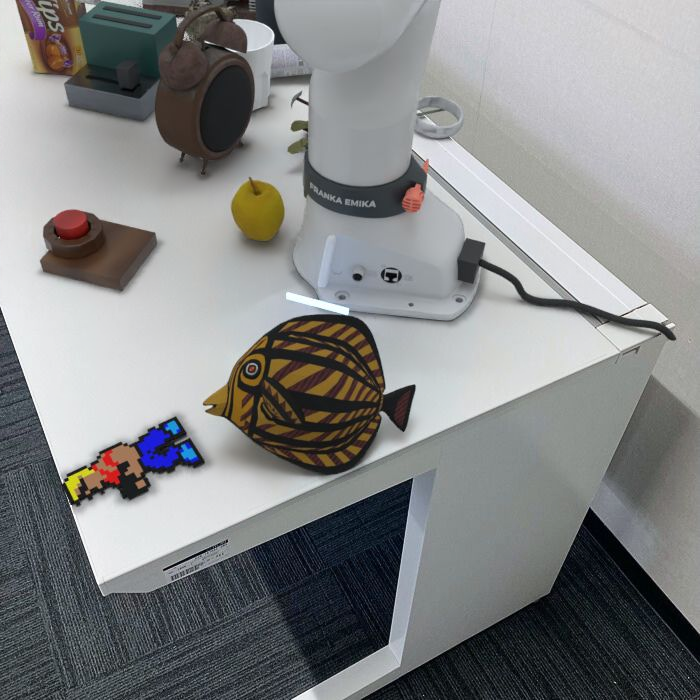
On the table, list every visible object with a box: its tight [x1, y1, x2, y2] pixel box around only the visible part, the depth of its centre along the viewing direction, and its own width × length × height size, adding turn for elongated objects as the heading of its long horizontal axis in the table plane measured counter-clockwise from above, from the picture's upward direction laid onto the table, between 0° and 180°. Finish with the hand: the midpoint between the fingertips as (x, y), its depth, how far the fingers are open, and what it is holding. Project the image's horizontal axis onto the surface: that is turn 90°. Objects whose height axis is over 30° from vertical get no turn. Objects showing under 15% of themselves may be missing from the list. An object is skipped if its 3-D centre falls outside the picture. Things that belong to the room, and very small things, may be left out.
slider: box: [116, 59, 140, 89], centre depth 110 cm, size 2×3×3 cm
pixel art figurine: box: [60, 416, 205, 507], centre depth 71 cm, size 6×1×12 cm
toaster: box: [63, 0, 178, 122], centre depth 113 cm, size 12×14×10 cm
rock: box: [183, 0, 238, 41], centre depth 129 cm, size 6×9×10 cm
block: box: [39, 210, 158, 292], centre depth 90 cm, size 11×9×4 cm
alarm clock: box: [154, 5, 255, 177], centre depth 99 cm, size 15×7×20 cm, turn 150°
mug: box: [255, 0, 287, 45], centre depth 122 cm, size 12×9×11 cm
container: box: [270, 44, 314, 79], centre depth 120 cm, size 5×5×15 cm
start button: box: [54, 208, 89, 240], centre depth 88 cm, size 4×4×2 cm
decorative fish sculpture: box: [202, 313, 417, 475], centre depth 73 cm, size 14×16×12 cm
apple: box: [230, 176, 286, 242], centre depth 92 cm, size 6×6×8 cm
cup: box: [204, 19, 274, 112], centre depth 113 cm, size 10×10×10 cm
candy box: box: [15, 0, 88, 76], centre depth 115 cm, size 9×4×15 cm, turn 86°
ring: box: [414, 95, 465, 139], centre depth 113 cm, size 8×8×2 cm
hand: (88, 2), depth 100 cm, fingers closed
